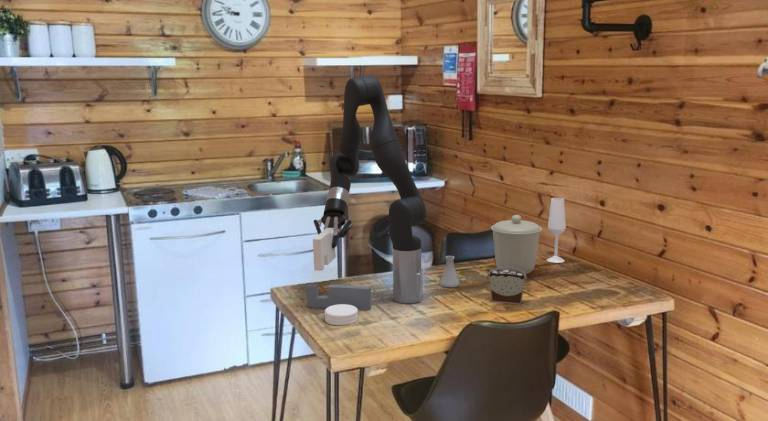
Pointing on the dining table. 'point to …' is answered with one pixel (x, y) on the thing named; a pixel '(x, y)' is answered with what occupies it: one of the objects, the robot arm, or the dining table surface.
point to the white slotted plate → (323, 249)
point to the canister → (516, 243)
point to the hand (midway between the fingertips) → (328, 247)
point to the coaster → (341, 314)
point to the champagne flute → (556, 224)
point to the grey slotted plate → (340, 296)
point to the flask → (449, 274)
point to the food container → (506, 285)
